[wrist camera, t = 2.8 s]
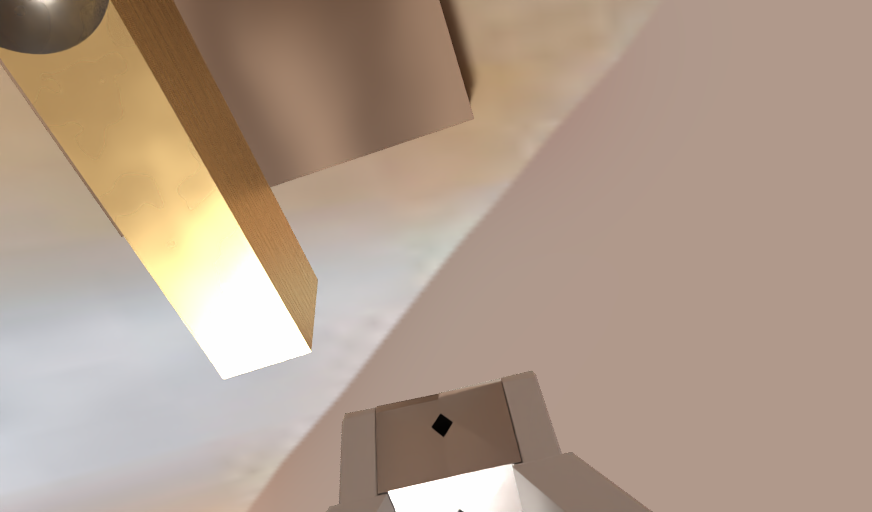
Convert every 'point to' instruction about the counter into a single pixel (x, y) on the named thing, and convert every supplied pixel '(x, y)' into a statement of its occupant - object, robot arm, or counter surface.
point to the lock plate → (325, 77)
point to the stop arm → (168, 168)
